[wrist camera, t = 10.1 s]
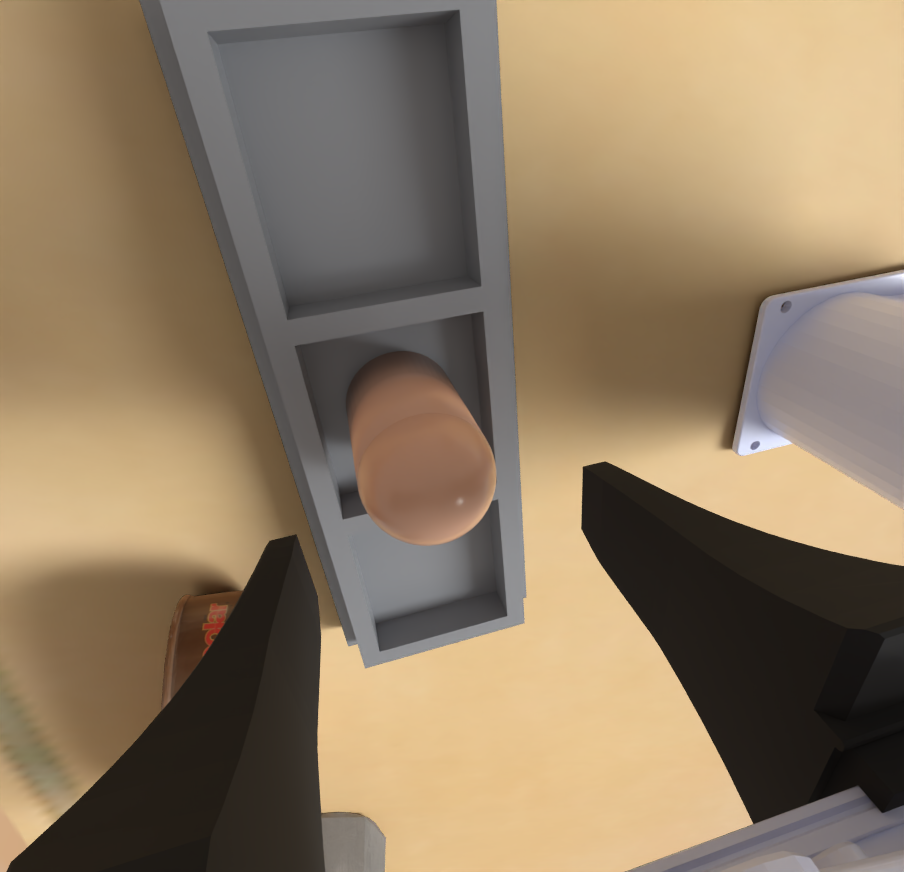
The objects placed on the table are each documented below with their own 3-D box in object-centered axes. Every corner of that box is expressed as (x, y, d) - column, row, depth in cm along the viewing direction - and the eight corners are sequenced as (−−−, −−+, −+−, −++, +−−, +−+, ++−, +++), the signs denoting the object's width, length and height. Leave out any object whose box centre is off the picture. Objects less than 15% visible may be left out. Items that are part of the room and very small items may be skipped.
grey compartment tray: (481, -17, 15) (515, -49, 12) (518, 580, 27) (538, 621, 24) (151, 10, 13) (118, -21, 11) (346, 626, 25) (350, 675, 23)
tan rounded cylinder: (446, 341, 18) (513, 433, 12) (458, 437, 20) (519, 555, 14) (334, 362, 18) (348, 470, 12) (357, 458, 20) (379, 592, 14)
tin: (184, 551, 21) (121, 753, 14) (264, 546, 22) (243, 734, 15) (219, 764, 28) (189, 973, 21) (280, 754, 29) (270, 951, 22)
